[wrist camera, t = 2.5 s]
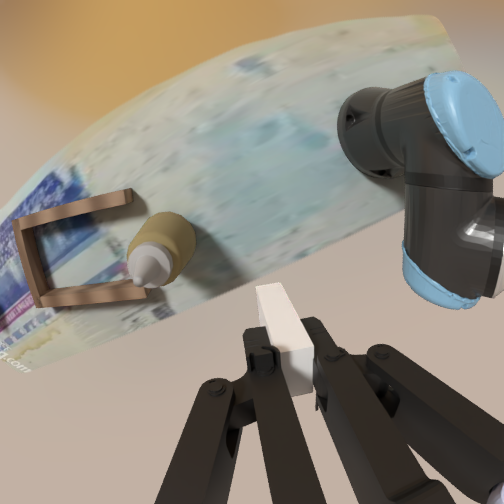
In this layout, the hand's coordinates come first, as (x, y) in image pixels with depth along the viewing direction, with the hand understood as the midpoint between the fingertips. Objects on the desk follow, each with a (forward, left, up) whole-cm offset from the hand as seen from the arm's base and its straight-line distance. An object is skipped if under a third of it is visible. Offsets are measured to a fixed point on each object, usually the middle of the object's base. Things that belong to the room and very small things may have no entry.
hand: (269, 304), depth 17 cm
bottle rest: (+23, -13, -25) cm, 37 cm away
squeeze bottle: (+9, -5, -26) cm, 28 cm away
